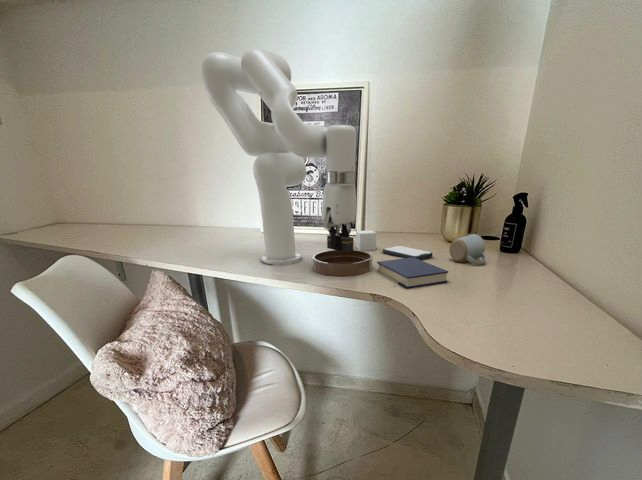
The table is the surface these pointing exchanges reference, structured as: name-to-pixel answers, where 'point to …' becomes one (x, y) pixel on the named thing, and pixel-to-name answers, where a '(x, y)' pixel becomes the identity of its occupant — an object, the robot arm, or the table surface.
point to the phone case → (407, 252)
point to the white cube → (366, 240)
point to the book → (413, 272)
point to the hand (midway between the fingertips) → (340, 247)
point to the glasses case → (342, 243)
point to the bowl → (342, 263)
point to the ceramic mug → (468, 249)
